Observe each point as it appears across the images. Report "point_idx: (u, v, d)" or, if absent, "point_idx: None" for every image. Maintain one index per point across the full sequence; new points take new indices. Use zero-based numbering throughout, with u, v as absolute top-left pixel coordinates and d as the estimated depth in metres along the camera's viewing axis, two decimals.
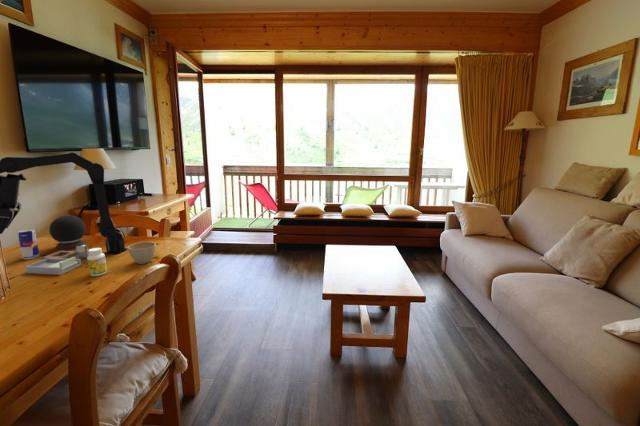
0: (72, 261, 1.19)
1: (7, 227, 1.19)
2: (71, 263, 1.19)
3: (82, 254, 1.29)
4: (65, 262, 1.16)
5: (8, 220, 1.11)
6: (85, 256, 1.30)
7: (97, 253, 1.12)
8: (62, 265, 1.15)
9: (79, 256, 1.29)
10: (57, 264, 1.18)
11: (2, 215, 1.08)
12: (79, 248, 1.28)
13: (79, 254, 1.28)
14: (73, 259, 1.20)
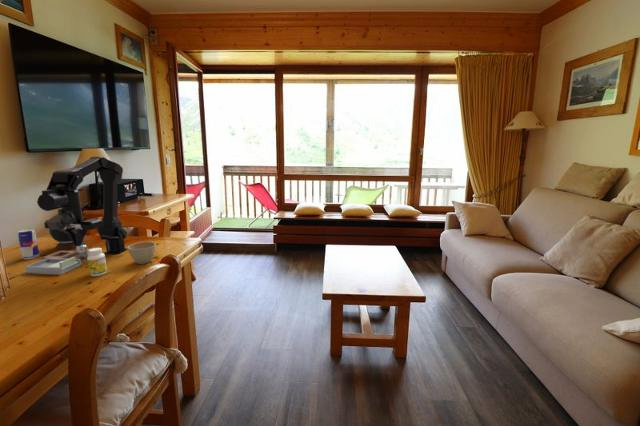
0: (72, 261, 1.19)
1: None
2: (71, 263, 1.19)
3: (82, 254, 1.29)
4: (65, 262, 1.16)
5: (86, 230, 1.16)
6: (85, 256, 1.30)
7: (97, 253, 1.12)
8: (62, 265, 1.15)
9: (79, 256, 1.29)
10: (57, 264, 1.18)
11: (99, 225, 1.14)
12: (79, 248, 1.28)
13: (79, 254, 1.28)
14: (73, 259, 1.20)
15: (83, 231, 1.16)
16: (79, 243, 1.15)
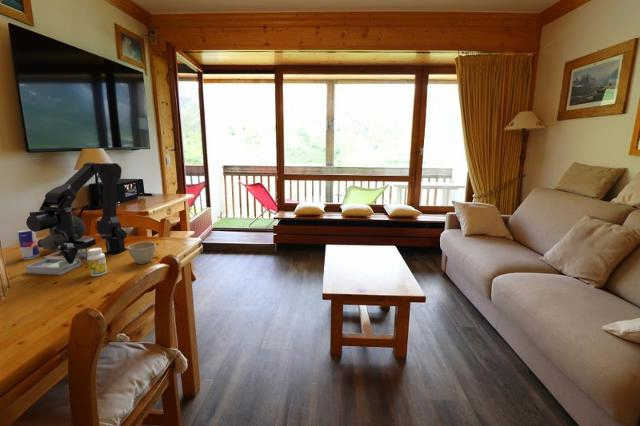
0: None
1: None
2: None
3: (82, 254, 1.29)
4: (64, 262, 1.16)
5: None
6: (85, 256, 1.30)
7: (97, 253, 1.12)
8: (61, 265, 1.15)
9: (79, 256, 1.29)
10: (56, 264, 1.18)
11: (92, 244, 1.16)
12: None
13: (79, 254, 1.28)
14: None
15: (75, 249, 1.18)
16: (71, 261, 1.17)
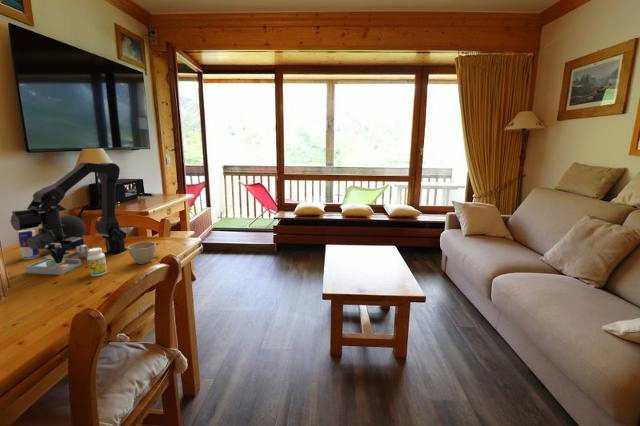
0: None
1: None
2: None
3: (82, 254, 1.29)
4: (52, 261, 1.17)
5: (66, 247, 1.19)
6: (85, 256, 1.30)
7: (97, 253, 1.12)
8: (49, 264, 1.16)
9: (79, 256, 1.29)
10: (44, 263, 1.19)
11: (79, 244, 1.16)
12: (79, 248, 1.28)
13: (79, 254, 1.28)
14: None
15: (63, 249, 1.18)
16: (59, 261, 1.18)
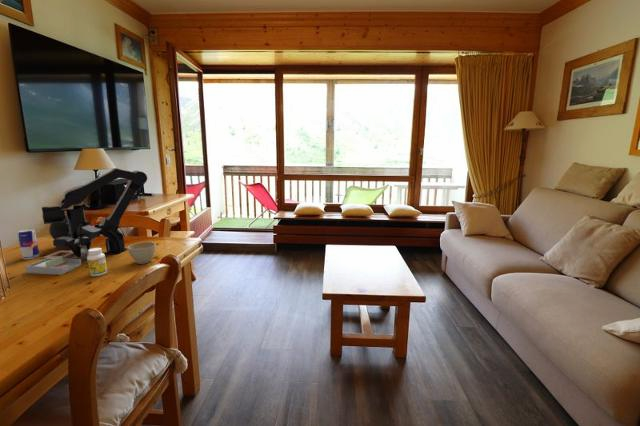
0: (59, 260, 1.20)
1: None
2: (58, 262, 1.19)
3: (82, 254, 1.29)
4: (52, 261, 1.17)
5: None
6: (85, 256, 1.30)
7: (97, 253, 1.12)
8: (48, 264, 1.16)
9: None
10: (44, 263, 1.19)
11: None
12: None
13: None
14: (60, 258, 1.20)
15: None
16: None
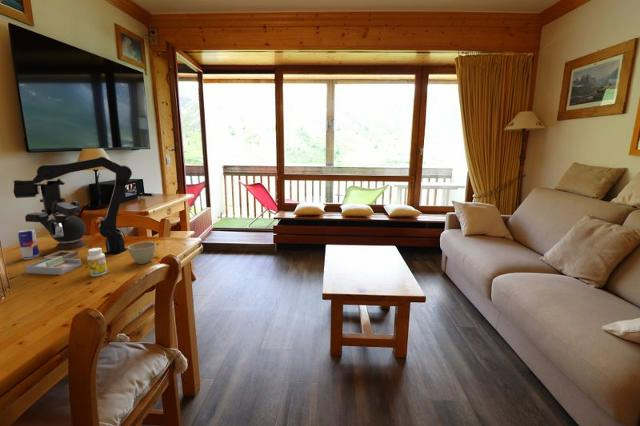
0: (59, 260, 1.20)
1: None
2: (58, 262, 1.19)
3: (57, 231, 1.24)
4: (52, 261, 1.17)
5: None
6: (60, 234, 1.25)
7: (97, 253, 1.12)
8: (48, 264, 1.16)
9: None
10: (44, 263, 1.19)
11: None
12: (54, 225, 1.23)
13: None
14: (60, 258, 1.20)
15: None
16: None
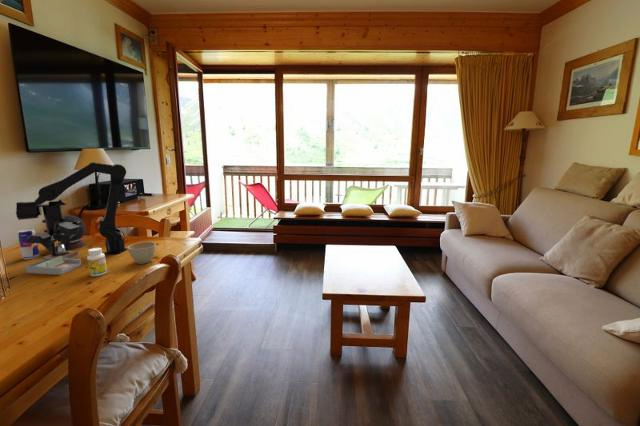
0: (59, 260, 1.20)
1: None
2: (58, 262, 1.19)
3: (59, 253, 1.26)
4: (52, 261, 1.17)
5: None
6: None
7: (97, 253, 1.12)
8: (48, 264, 1.16)
9: (57, 255, 1.26)
10: (44, 263, 1.19)
11: None
12: (56, 247, 1.25)
13: (56, 253, 1.26)
14: (60, 258, 1.20)
15: None
16: None
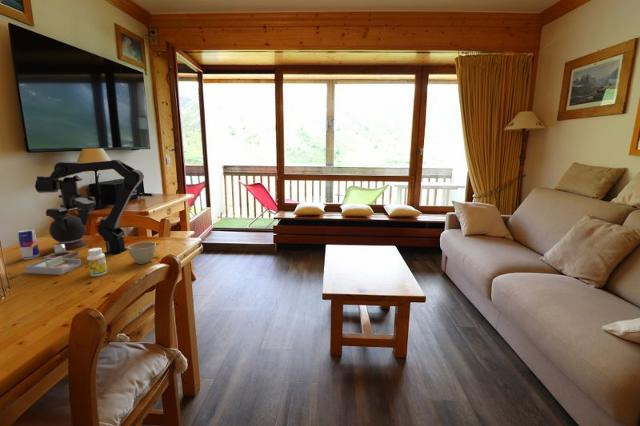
0: (59, 260, 1.20)
1: None
2: (58, 262, 1.19)
3: (60, 253, 1.26)
4: (52, 261, 1.17)
5: None
6: None
7: (97, 253, 1.12)
8: (48, 264, 1.16)
9: (57, 255, 1.26)
10: (44, 263, 1.19)
11: None
12: (57, 247, 1.25)
13: (57, 253, 1.26)
14: (60, 258, 1.20)
15: None
16: None
